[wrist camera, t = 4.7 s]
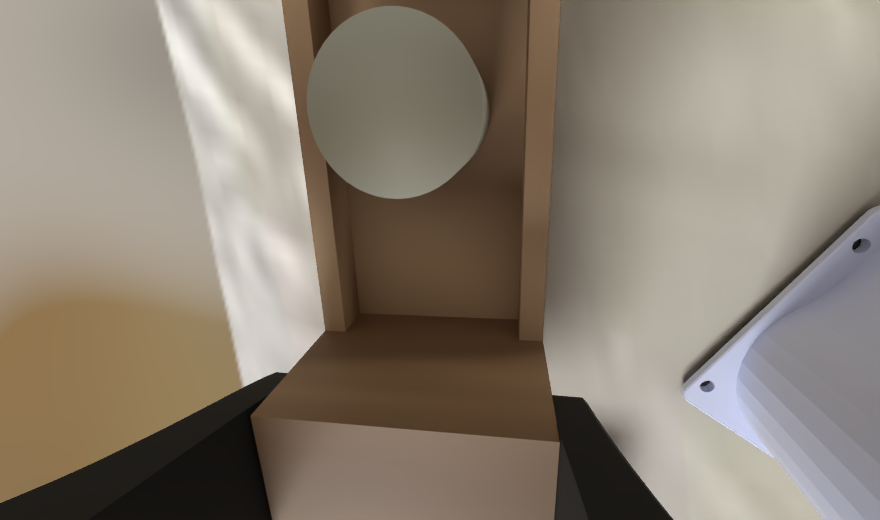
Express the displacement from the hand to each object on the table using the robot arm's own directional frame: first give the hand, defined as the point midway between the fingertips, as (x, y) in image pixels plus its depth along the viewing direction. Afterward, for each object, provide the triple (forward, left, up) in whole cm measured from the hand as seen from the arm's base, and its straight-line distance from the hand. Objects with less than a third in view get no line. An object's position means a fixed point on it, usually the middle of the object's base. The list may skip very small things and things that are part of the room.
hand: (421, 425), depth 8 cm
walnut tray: (0, 0, -3) cm, 3 cm away
